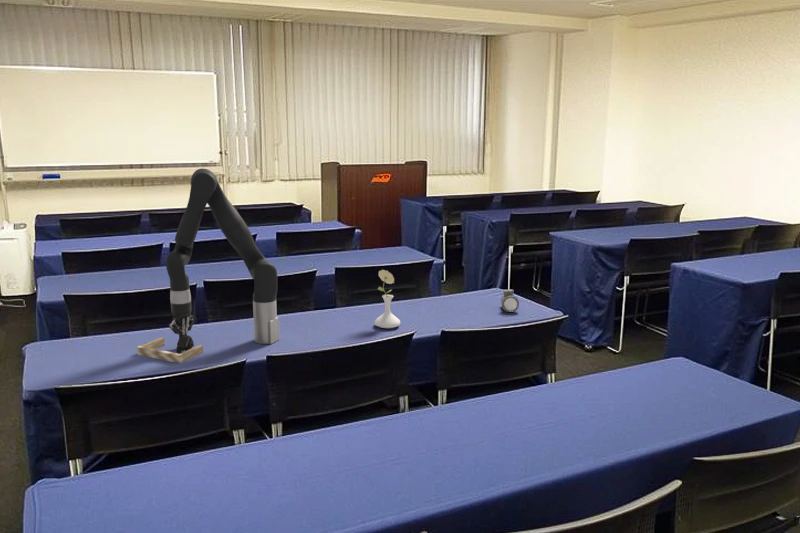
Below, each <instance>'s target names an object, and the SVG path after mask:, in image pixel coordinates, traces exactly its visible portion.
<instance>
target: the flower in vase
mask: <svg viewBox="0 0 800 533" xmlns="http://www.w3.org/2000/svg"><path fill="white" fill-rule="evenodd" d="M378 277H379V278H380V280H381V281H382V282H383V284H382V286H378V288H377V290H378V291H379V292H384V294H383V295H381V297H382V298H383V301H384V312H383V313H382V314H381V315H380V316H378V317H377V318H376V319H375V320H374V324H375V326H376V327H378V328H382V329H394V328H396V327H398V326H400V325H401V320H400V319H399V318H398V317H396V315H394V314H393V313H392V311H391V302H392V299H393V298H394V295H393V294H388V293H391V291H393V289H389V290H388V291H386V290H385V288H384V287H385V283H386V284H389V285H392V284H395V277H394V275H393V274H392V273H391V272H389V270H385V269H381V270H379V271H378Z"/></svg>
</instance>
